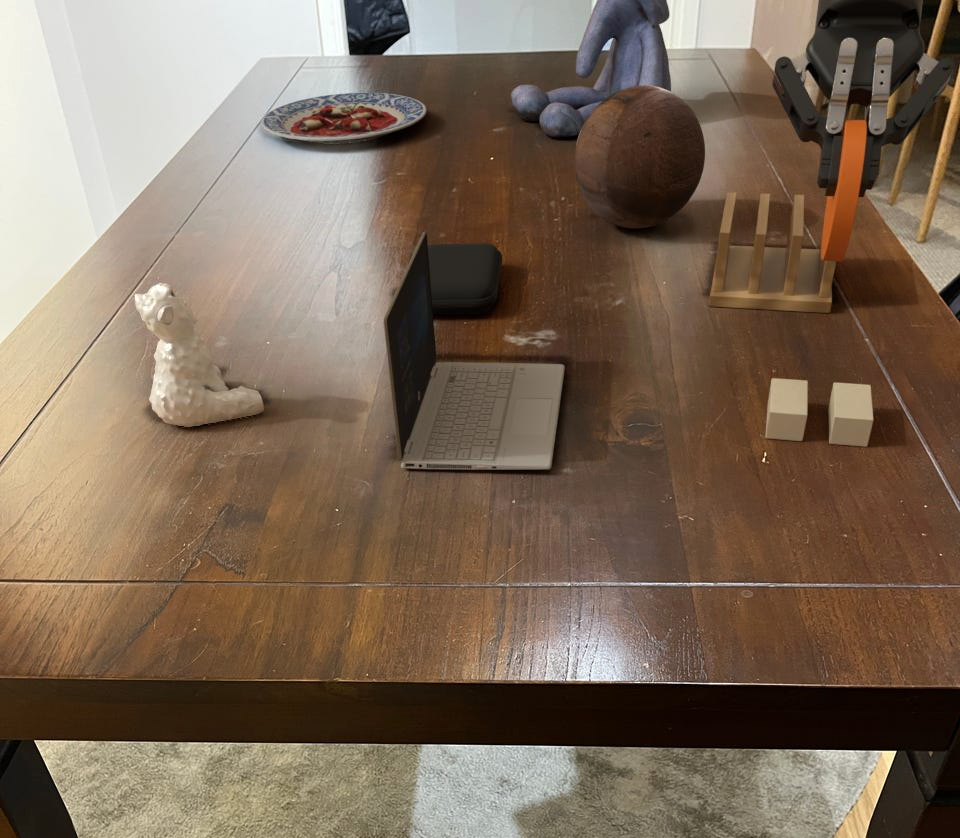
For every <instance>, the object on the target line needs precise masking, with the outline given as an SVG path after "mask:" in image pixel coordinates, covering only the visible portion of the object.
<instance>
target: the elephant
mask: <svg viewBox="0 0 960 838" xmlns="http://www.w3.org/2000/svg"><path fill="white" fill-rule="evenodd" d="M669 19H670V8H669V4H668V0H596V3H595V5H594V6H593V9H592V12H591V15H590V17H589V21H588V22H587V25H586V28H585V31H584V33H583V37H582V40H581V42H580V45H579V47H578V50H577V54H576V57H575V59H576V60H575V74H576V76H577V77H579V78H583V79H586V78H589V77H590V76H591V75H592V73H593V72H594V70H595V68H596V65H597V63H598V60H599V58H600V55H601V54H602V51H603V49H604V47H605V46H606V44H607V43H608V42H609V41H610V40H611V43H610V45H609V46H610V47H609V50H608V54H607V57H606V60H605V62H604V66H603V67H602V69H601V72H600V75H599V76H598V78H597V80H596V82H595V84H594V85H593V87H590V86H585V85H575V86H565V87H564V86H563V87H558V88H555V89H552V90H549V91H543V90H542V89H540V88H539V87H538V86H536V85H534V84H520V85H518V86H517V87H515V88H513V90H512V91H511V93H510V99H511V106H512V109H513V110H514V113H516V114H517V116H518V117H519V118H520V119H521V120H523V121H525V122H533V123H535V122H539V126H540V128H541V130H542V132H543V134H544V135H546V136H547V137H549V138H555V139H558V138H559V139H560V138H574V137H579V134H580V132H581V129H582V127H583V125H584V123H585V121H586V120H587V118H588V117H589V115H590V114H591V113H592V111H593V110H594V109H595V108H596V107H597V106H598V105H599V104H600V103H601V102H602V101H603V100H605V99H606V98H607V97H609V96H610V95H612V94H614V93H616V92H618V91H620V90H622V89H625V88H628V87H633V86H641V85H648V86H656V87H660V88H663V89H666V90H668V91H670V92H672V78H671V72H670V62H669V55H668V51H667V47H666V44H665V39H664V35H663V31H662V28H661V24H664V23H665V22H667V21H668V20H669Z"/></svg>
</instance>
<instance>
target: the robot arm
mask: <svg viewBox="0 0 960 838" xmlns="http://www.w3.org/2000/svg"><path fill="white" fill-rule="evenodd" d="M923 2H924V0H818V2H817V9H816V10H817V11H816V19H815V24H814V25H815V26H814V33H813V35H812V37H811V38H810V39H809V41H808V42H807V44H806V48H805V52H803V53H801V54H799V55H797V56H794V57H793V58H789V57H788V56H785V55H784V56H780V57H779V58H778V59H776V61H775V64H774V71H773V76H772V77H773V78H772V88H773V90H774V92H775V94H776V96H777V97H778V100H779V101H780V104H781V106H782V108H783V109H784V111H785V113H786V115H787V117H788V119H789V121H790V123H791V125H792V127H793V130H794V131H795V133H796V135H797V137H798V139H799V140H800V141H801V142H803V143H810V142H812V143H815V144H817V145H818V146H819V148H820V155H819V156H820V157H819V166H818V174H817V181H816V182H817V186H818V188H819V189H825V190H824V197H827V196H834V194H835V191H836V188H837V183H838V177H839V169H840V161H841V153H842V145H843V137H844V136H841V132H842V128H843V123H844V120H845V116H846V111H847V110H846V109H847V106H852V105H859V106H861V107H862V106H863V107H864V116H863V118H864V119H863V120H866V124H867V135H866V148H865V157H864V164H863V172H862V178H861V185H860V191H859V197H858V198H864V197H865V194H866V191H867V190H868V191H871V190H873V188H874V186H875V185H876V182H877V179H878V177H879V174H880V165H881V157H882V150H883V149H882V148H883V147H884V146H886V145H889V144H892V145H895V146H898V145H901V144H902V143H904V141H905V140H906V139H907V138H908V137H909V135H910V134H911V133H912V131H913V130H914V129H915V128H916V126H917V125H918V124H919V122H920V121H921V120H922V119H923V117H924V116H925V115H926V114H927V113H928V111H929V110H930V109H931V107H932V106H933V105H934V104H935V103H936V102H937V100H938V99H939V97H940V96H941V95H942V93H944V91H945V90H946V88H947V85H948V84H949V81H950V79H951V77H952V74H953V72H954V69H955V66H956V65H955V61H954V60H953V59H951V58H949V57H944V58H941V59H940V60H937V59H935V58H934V57H932V56H930V55H929V54H927V53H926V52H925V50H926V49H925V42H924V40H923V38H922V36H921V31H920V27H921V19H922V11H923ZM807 71H808V73H809V74H810V75H811V77H812V78H813V80H814V82H815V83H816V85H817V86H818V89H819V90H820V91H821V93H822V94H823V96H824V98H826V99H827V100H828V104H827V109H826V115H825V117H824V116H822V115H820V114H819V112H818V109H817V108H816V106H815V104H814V102H813V100H812V98H811V95H810V94H809V92H808V90H807V88H806V86H805V84H806V81H807ZM914 72H915V74H916V78H915V81H914V83H913V87H914V90H915V91H914V92H913V94H912V95H911V96H910V98H908V100H907V101H906V102H905V104H904V105H903V106H902V107H901V109H900V110H899V111H898V113H897V114H896V115H895V116H892V117H889V118H888V107H889V100H890V97H892V96H893V95H894V93H895V92H896V91H898V90H899V88H901V86H902V85H903V84H904V82H906V81H907V79H908V78H909V77H910V76H911V75H912V74H913V73H914Z"/></svg>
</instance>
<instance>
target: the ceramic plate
mask: <svg viewBox="0 0 960 838" xmlns="http://www.w3.org/2000/svg"><path fill="white" fill-rule="evenodd" d="M426 113H427V107H426V105H425V104H424V103H423V102H421V101H419V100H418V99H415V98H413V97H409V96H405V95H400V94H394V93H387V92H347V93H346V92H345V93H336V94H327V95H320V96H313V97H310V98H305V99H300V100H296V101H292V102H289V103H287V104H283V105H281V106H278V107H276V108H274V109H272V110H270V111H269V112H267V113H266V114H265V115H264V116H263V118H262V120H261V125H262V127H263V130H265V131H266V132H267V133H270V134H272V135H275V136H278V137H281V138H285V139H292V140H299V141H303V142H306V141H308V142H307V143H312V142H314V144H319V143H347V144H350V143H349V142H356V143H359V142H358V141H362V142H365V141H364V140H368V141H370V140H369V139H372V140H375V139H374V138H376V139H379V138H378V137H380V138H382V137H381V136H383V137H385V136H388V135H389V134H391V133H393V132H397V131H400V130H403V129H406V128H409V127H411V126H413V125H415V124H416V123H418V122H419V121H421V120H422V119H423V118H424V117H425V116H426ZM384 135H385V136H384Z"/></svg>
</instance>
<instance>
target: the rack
mask: <svg viewBox="0 0 960 838" xmlns="http://www.w3.org/2000/svg"><path fill="white" fill-rule="evenodd" d="M759 195H760V196H759V203H758V210H757V220H756V225H755V231H754V232H755V234H754V240H753V246H747V245H731V242H732V235H733V227H734V220H735V219H734V218H735V212H736V203H737V192H730V191H729V192H726V197H725V203H724V208H723V213H722V218H721V224H720V229H719V234H718V244H717V253H716V261H715V265H714V271H713V276H712V282H711V288H710V291H709V292H710V293H709V299H708V307H714V308H729V309H730V308H731V309H750V310H764V311H765V310H767V311H781V312H782V311H783V312H784V311H785V312H800V313H819V314H821V313H822V314H830V313H831V309H832V304H833V289H832V286H833V281H834V275H835V270H836V265H837V261H822V259H821V245H822V237H821V238H820V245H819V248H818V249H815V248H814V249H812V248H802V247H803V240H804V228H805V227H804V225H805V219H804V218H805V195H804V194H794V195H793V196H794V197H793V203H792V207H791V209H792V210H791V215H790V222H789V228H788V234H787V235H788V236H787V240H786V247H769V246H766V240H767V232H768V224H769V223H768V222H769V211H770V201H771V193H760V194H759ZM822 234H823V231H822V232H821V235H822Z"/></svg>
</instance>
